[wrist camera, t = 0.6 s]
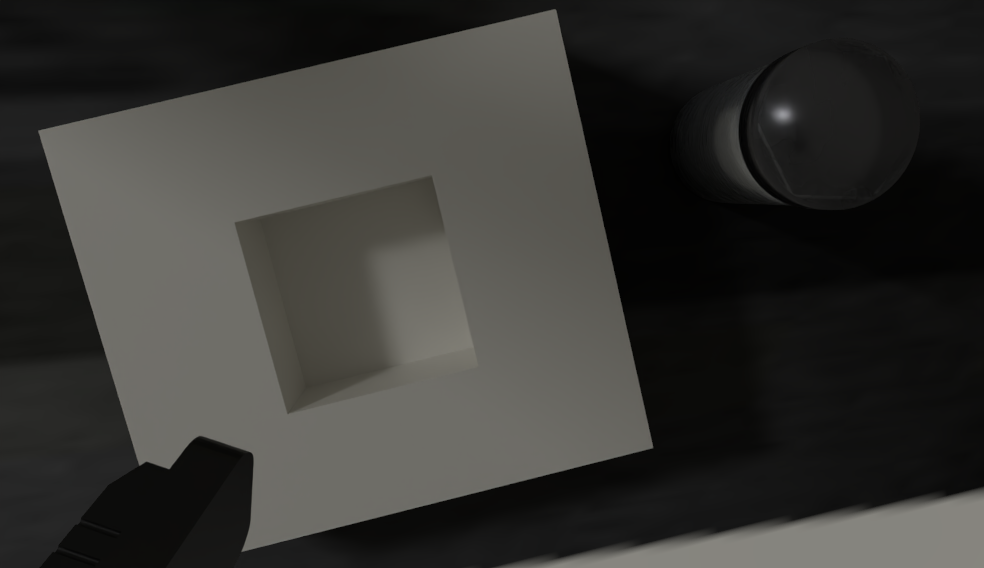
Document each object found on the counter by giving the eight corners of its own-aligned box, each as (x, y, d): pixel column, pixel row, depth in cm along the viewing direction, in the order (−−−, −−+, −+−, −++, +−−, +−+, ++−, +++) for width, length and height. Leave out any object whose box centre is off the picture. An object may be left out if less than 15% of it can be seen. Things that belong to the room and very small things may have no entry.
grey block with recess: (110, 141, 34) (38, 130, 28) (536, 41, 34) (556, 9, 28) (216, 506, 36) (170, 569, 30) (619, 406, 36) (653, 448, 30)
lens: (655, 97, 35) (739, 60, 25) (774, 69, 35) (904, 20, 25) (680, 217, 35) (772, 227, 26) (797, 189, 36) (933, 188, 26)
